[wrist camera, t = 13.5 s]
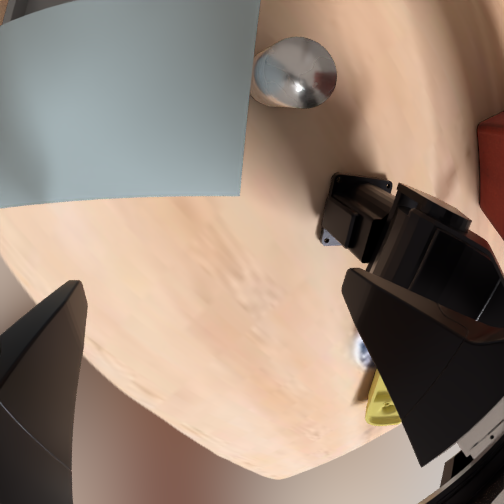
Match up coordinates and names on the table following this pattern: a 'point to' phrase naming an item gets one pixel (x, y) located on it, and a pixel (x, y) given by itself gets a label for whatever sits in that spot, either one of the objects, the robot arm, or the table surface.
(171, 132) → the box
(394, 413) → the plastic component
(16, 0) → the parts tray
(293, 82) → the chrome-capped short cylinder
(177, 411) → the table surface
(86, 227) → the table surface
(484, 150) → the plant pot
